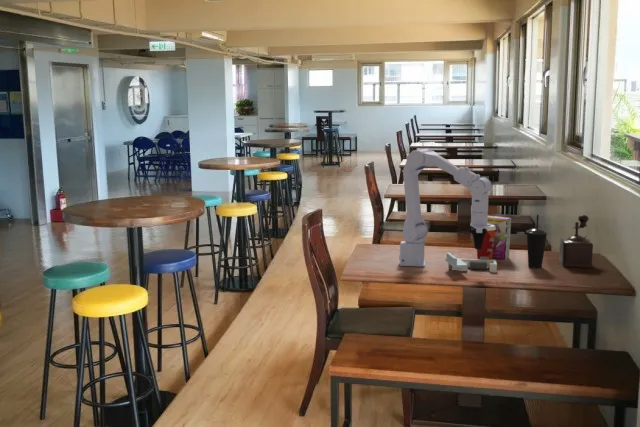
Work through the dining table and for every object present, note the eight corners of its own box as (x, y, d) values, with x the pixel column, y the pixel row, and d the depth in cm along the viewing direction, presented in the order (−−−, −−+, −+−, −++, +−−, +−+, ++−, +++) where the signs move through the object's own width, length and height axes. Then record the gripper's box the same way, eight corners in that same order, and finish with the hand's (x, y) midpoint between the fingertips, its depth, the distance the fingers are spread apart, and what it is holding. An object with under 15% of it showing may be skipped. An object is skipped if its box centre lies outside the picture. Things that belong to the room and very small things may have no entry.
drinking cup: (523, 268, 251) (526, 215, 247) (525, 263, 258) (527, 212, 254) (545, 270, 248) (548, 217, 245) (545, 265, 255) (548, 213, 252)
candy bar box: (478, 256, 269) (479, 216, 266) (482, 254, 273) (484, 214, 270) (505, 260, 263) (507, 219, 260) (509, 258, 267) (511, 217, 264)
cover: (445, 260, 249) (445, 251, 249) (458, 259, 250) (458, 251, 249) (453, 267, 239) (453, 258, 238) (467, 267, 239) (467, 258, 238)
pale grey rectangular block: (448, 270, 248) (449, 255, 247) (448, 265, 256) (448, 251, 255) (496, 272, 245) (497, 257, 244) (494, 266, 253) (495, 252, 252)
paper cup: (495, 262, 259) (496, 227, 257) (474, 262, 260) (476, 226, 258) (493, 258, 267) (495, 223, 264) (474, 257, 268) (475, 223, 266)
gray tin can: (469, 267, 252) (469, 270, 249) (469, 260, 251) (470, 263, 248) (485, 268, 251) (486, 271, 248) (486, 260, 250) (486, 263, 247)
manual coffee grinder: (594, 268, 250) (597, 221, 247) (563, 267, 252) (566, 220, 249) (585, 258, 266) (588, 214, 263) (556, 257, 267) (558, 213, 264)
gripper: (491, 215, 231) (490, 253, 233) (490, 208, 245) (488, 245, 247) (470, 214, 232) (469, 252, 235) (470, 208, 246) (469, 244, 249)
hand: (478, 248), depth 241 cm, fingers closed
